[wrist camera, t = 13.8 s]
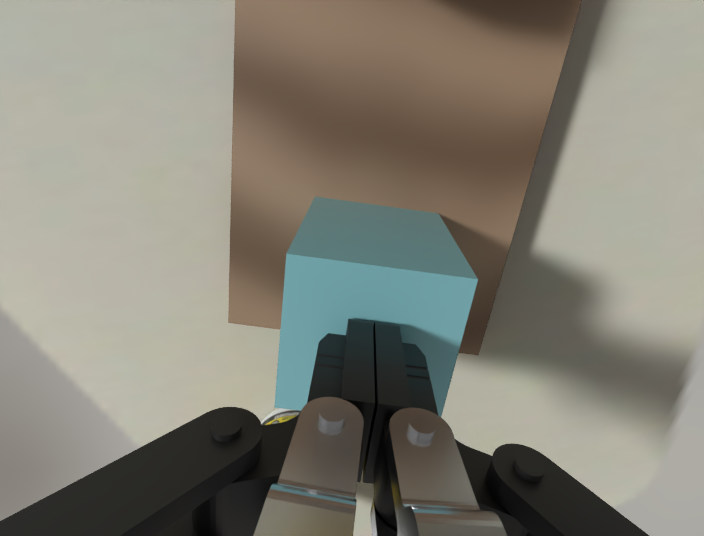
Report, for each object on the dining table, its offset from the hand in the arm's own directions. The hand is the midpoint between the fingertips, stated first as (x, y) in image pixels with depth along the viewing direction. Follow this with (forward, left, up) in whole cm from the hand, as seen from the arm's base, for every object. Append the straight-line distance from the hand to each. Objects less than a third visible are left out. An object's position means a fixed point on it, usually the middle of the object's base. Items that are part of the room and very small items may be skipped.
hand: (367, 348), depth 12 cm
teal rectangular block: (0, 0, -7) cm, 7 cm away
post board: (-6, 0, -8) cm, 10 cm away
